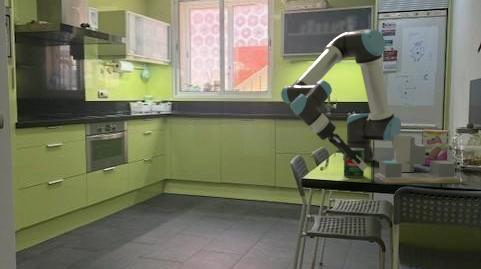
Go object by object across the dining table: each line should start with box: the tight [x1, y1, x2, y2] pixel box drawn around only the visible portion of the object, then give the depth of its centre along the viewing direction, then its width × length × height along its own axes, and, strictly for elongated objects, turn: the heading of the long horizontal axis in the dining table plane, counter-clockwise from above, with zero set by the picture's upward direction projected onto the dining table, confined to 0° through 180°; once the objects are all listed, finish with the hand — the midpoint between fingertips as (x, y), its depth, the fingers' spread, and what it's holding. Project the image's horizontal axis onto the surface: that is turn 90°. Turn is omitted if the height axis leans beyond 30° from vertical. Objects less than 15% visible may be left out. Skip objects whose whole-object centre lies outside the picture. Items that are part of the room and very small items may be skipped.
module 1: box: [378, 160, 402, 177], centre depth 181 cm, size 8×6×5 cm
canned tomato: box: [343, 148, 365, 179], centre depth 189 cm, size 8×8×11 cm
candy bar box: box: [420, 129, 451, 167], centre depth 216 cm, size 11×5×16 cm, turn 57°
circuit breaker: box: [391, 135, 429, 173], centre depth 201 cm, size 8×14×15 cm, turn 78°
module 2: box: [429, 161, 456, 177], centre depth 181 cm, size 8×6×5 cm
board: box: [374, 173, 462, 184], centre depth 181 cm, size 14×28×1 cm, turn 90°
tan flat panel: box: [375, 172, 459, 180], centre depth 181 cm, size 10×28×1 cm, turn 90°
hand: (362, 166), depth 189 cm, fingers closed on canned tomato, 8 cm apart
